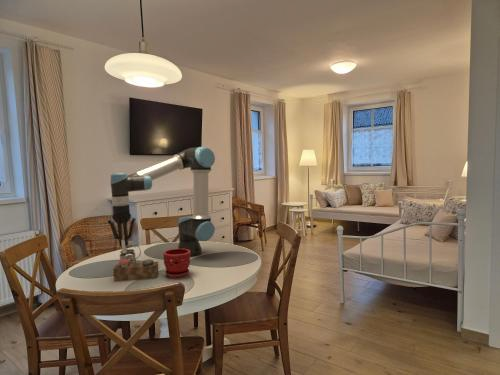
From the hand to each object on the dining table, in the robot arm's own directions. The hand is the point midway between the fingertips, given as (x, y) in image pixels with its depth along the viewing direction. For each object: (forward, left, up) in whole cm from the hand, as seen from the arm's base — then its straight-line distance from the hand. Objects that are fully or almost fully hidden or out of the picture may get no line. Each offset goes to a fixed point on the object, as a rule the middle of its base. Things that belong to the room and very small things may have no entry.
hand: (124, 252), depth 157 cm
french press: (+1, -14, -13) cm, 19 cm away
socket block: (-5, 0, -13) cm, 14 cm away
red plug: (0, 0, -11) cm, 11 cm away
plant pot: (-25, +2, -13) cm, 28 cm away
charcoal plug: (-11, 0, -12) cm, 16 cm away
